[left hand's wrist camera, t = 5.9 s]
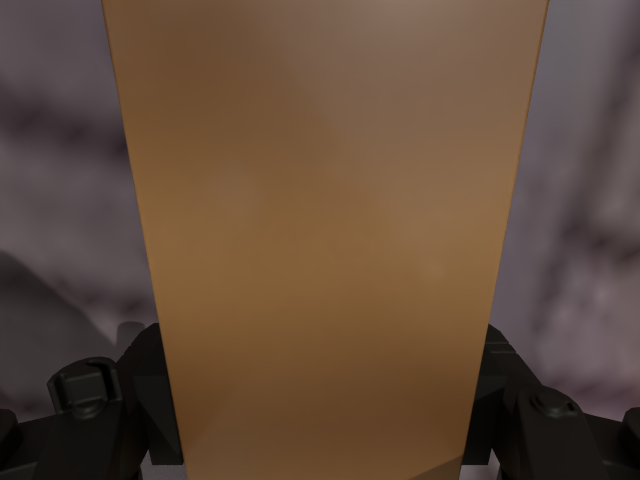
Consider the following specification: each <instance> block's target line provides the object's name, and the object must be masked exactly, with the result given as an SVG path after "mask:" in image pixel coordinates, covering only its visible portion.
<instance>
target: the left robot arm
mask: <svg viewBox="0 0 640 480" xmlns="http://www.w3.org/2000/svg"><path fill="white" fill-rule="evenodd" d="M47 387H48V390H49V393H50V396H51V399H52V402H53V405H54V408H55V411H56V415H52V416H49V417H45V418H40V419H36V420H32V421H27V422H23V423H18V421H17V418H16V415H15V413H13V412H12V411H10V410H9V409H0V480H143V477H142V471H141V467H140V465H141V463H142V461H143V459H144V457H145V455H146V453H147V451H148V449H149V453H150V458H151V462H152V465H183V463H184V459H183V453H182V448H181V442H180V437H179V431H178V425H177V420H176V414H175V409H174V403H173V398H172V392H171V387H170V381H169V375H168V370H167V364H166V359H165V353H164V348H163V342H162V337H161V331H160V326H159V323H153V324H152V325H150V326H149V327H148V328H146V329H145V330H143V331H142V332H140V333H139V335H138V336H137V337H136V338H135V340H134V341H133V342H132V344H131V346H129V347H128V349H127V350H126V351H125V352H124V355H122V356H121V358H120V359H119V360H118V361H117V363H115V362H114V361H113V360H112V359H110V358H105V357H92V358H86V359H83V360H79V361H76V362H74V363H72V364H70V365H68V366H66V367H64V368H62V369H61V370H60V371H58V372H57V373H56V374H54V375H53V376H52V377H51V379H50V380H49V381H48V383H47ZM491 449H493V451H494V453H495V455H496V457H497V459H498V461H499V463H500V467H499V471H498V475H497V479H496V480H640V407H636V408H631V409H629V410H628V411H627V412H626V413H625V415H624V418H623V421H622V422H619V421H615V420H611V419H606V418H602V417H598V416H593V415H589V414H586V413H583V412H582V410H581V409H580V407H579V406H578V404H577V403H575V402H574V401H573V400H572V399H571V398H570V397H568V396H567V395H565V394H563V393H561V392H559V391H558V390H556V389H553V388H550V387H546V386H543V385H542V384H541V383H540V381H539V380H538V379H537V377H536V376H535V375H534V374H533V372H532V371H531V370H530V369H529V367H528V366H527V365H526V364H525V362H524V361H523V360H522V359H521V357H520V356H519V355H518V354H516V351H515V350H514V348H513V347H512V346H511V345H509V342H508V341H507V340H506V338H505V337H504V336H503V334H502V333H501V332H500V331H499V330H497V329H496V328H494V327H493V326H491V325H490V324H488V328H487V333H486V339H485V344H484V349H483V354H482V360H481V365H480V370H479V376H478V381H477V386H476V392H475V397H474V402H473V407H472V413H471V418H470V423H469V429H468V434H467V439H466V445H465V450H464V455H463V460H462V465H488V462H489V458H490V453H491Z"/></svg>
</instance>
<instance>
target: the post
mask: <svg viewBox="0 0 640 480" xmlns="http://www.w3.org/2000/svg"><path fill="white" fill-rule="evenodd" d="M101 4H102V9H103V15H104V20H105V26H106V31H107V37H108V42H109V48H110V54H111V59H112V65H113V70H114V76H115V81H116V87H117V92H118V98H119V103H120V109H121V115H122V120H123V126H124V131H125V137H126V142H127V148H128V153H129V159H130V165H131V170H132V176H133V181H134V187H135V192H136V198H137V203H138V209H139V214H140V220H141V226H142V231H143V237H144V242H145V248H146V253H147V259H148V264H149V270H150V276H151V281H152V287H153V292H154V298H155V303H156V309H157V314H158V320H159V326H160V331H161V337H162V342H163V348H164V353H165V359H166V364H167V370H168V375H169V381H170V387H171V392H172V398H173V403H174V409H175V414H176V420H177V425H178V431H179V437H180V442H181V448H182V453H183V459H184V464H185V470H186V475H187V480H459V476H460V471H461V466H462V460H463V455H464V450H465V445H466V439H467V434H468V429H469V423H470V418H471V413H472V407H473V402H474V397H475V392H476V386H477V381H478V376H479V370H480V365H481V360H482V354H483V349H484V344H485V339H486V333H487V328H488V323H489V317H490V312H491V307H492V301H493V296H494V291H495V286H496V280H497V275H498V270H499V264H500V259H501V254H502V248H503V243H504V238H505V233H506V227H507V222H508V217H509V211H510V206H511V201H512V195H513V190H514V185H515V180H516V174H517V169H518V164H519V158H520V153H521V148H522V142H523V137H524V132H525V127H526V121H527V116H528V111H529V105H530V100H531V95H532V89H533V84H534V79H535V74H536V68H537V63H538V58H539V52H540V47H541V42H542V36H543V31H544V26H545V21H546V15H547V10H548V5H549V0H101Z"/></svg>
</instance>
